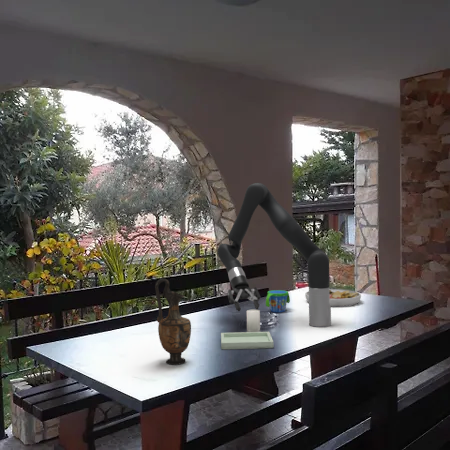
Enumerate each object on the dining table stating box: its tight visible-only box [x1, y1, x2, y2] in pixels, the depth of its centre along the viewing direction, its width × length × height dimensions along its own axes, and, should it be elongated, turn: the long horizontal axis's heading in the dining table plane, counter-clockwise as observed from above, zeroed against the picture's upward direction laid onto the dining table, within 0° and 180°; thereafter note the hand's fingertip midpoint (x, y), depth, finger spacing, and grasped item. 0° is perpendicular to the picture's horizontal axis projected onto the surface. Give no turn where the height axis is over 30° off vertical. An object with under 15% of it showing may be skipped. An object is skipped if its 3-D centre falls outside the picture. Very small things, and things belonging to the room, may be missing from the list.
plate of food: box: [305, 288, 362, 308], centre depth 278 cm, size 30×30×8 cm
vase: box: [154, 278, 192, 366], centre depth 178 cm, size 12×12×30 cm
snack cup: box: [265, 289, 291, 313], centre depth 258 cm, size 16×10×10 cm
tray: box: [220, 331, 275, 350], centre depth 200 cm, size 20×15×2 cm
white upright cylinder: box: [246, 308, 261, 332], centre depth 214 cm, size 6×6×10 cm
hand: (248, 309), depth 219 cm, fingers open, 8 cm apart
